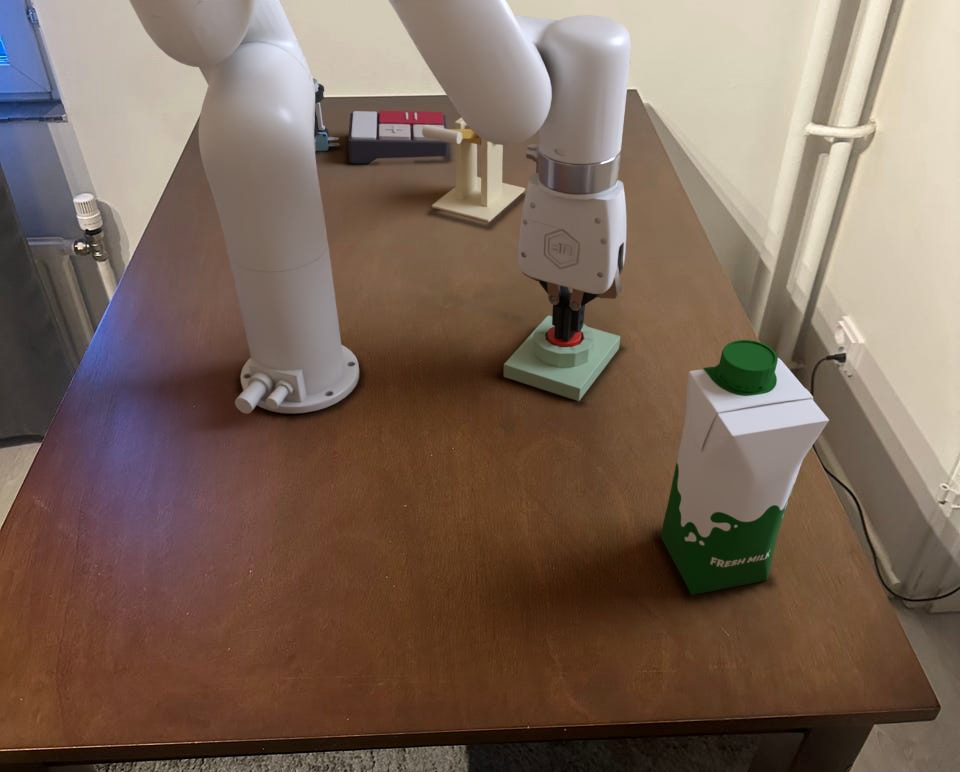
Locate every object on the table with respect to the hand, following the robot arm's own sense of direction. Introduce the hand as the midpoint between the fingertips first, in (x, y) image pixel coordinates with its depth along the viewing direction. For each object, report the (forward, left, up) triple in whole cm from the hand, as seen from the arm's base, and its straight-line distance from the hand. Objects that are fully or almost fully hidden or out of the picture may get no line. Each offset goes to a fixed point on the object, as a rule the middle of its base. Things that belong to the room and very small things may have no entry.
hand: (567, 333), depth 96 cm
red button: (0, 0, -2) cm, 2 cm away
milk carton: (-24, -20, -4) cm, 31 cm away
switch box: (0, 0, -4) cm, 4 cm away
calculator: (+47, +39, -4) cm, 61 cm away
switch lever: (+28, +22, +7) cm, 36 cm away
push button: (+43, +51, -4) cm, 67 cm away
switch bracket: (+33, +21, -4) cm, 39 cm away
